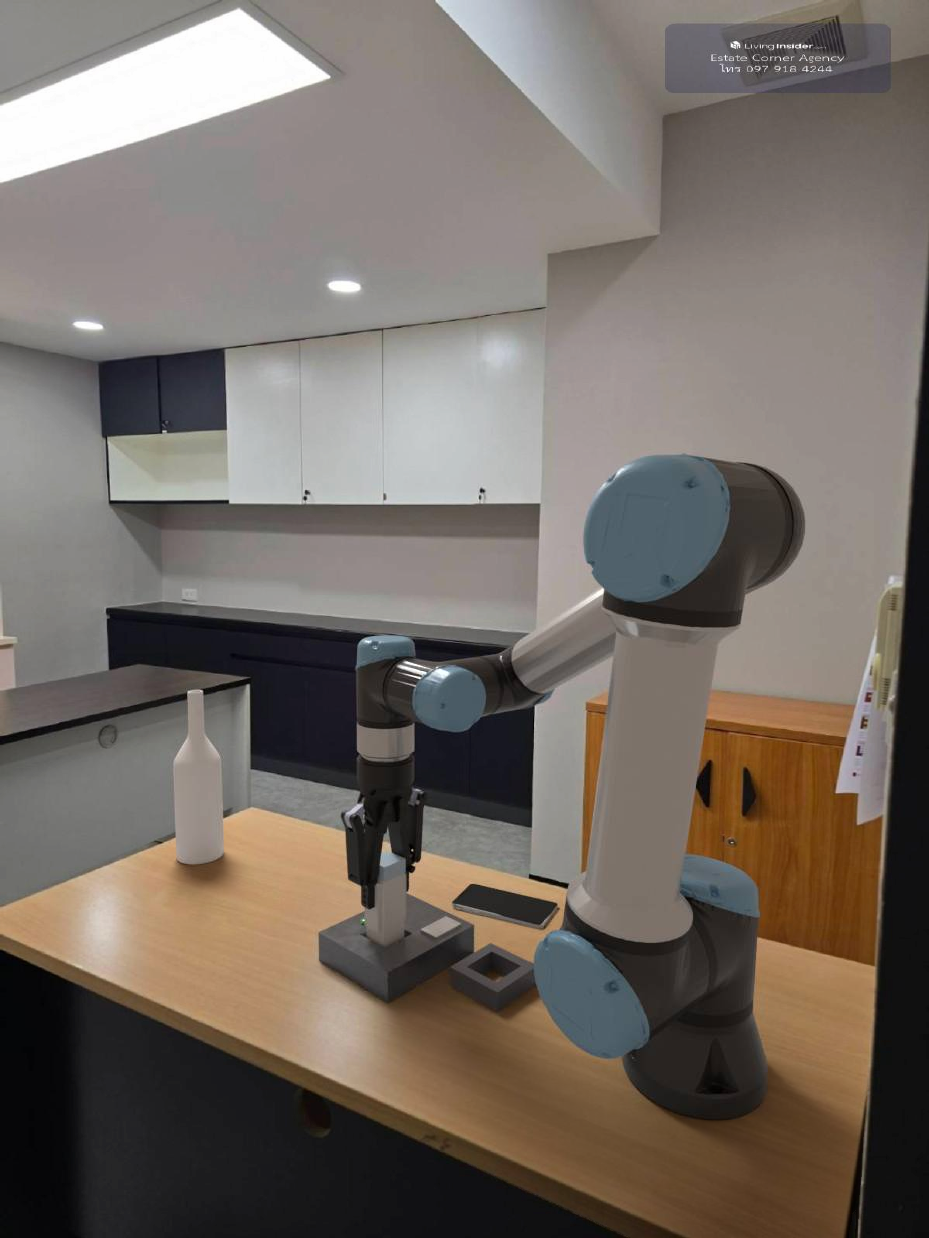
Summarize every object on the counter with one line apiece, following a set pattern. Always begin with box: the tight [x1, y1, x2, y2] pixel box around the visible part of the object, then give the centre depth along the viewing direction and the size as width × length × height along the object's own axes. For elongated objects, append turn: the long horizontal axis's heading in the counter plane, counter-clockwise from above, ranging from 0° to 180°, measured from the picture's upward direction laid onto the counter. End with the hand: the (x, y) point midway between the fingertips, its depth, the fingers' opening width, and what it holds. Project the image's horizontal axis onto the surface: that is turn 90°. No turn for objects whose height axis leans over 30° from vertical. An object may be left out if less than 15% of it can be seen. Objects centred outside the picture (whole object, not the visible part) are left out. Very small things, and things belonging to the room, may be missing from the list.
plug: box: [366, 850, 406, 948], centre depth 103 cm, size 4×4×12 cm
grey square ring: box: [449, 942, 537, 1012], centre depth 99 cm, size 8×8×2 cm
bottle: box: [172, 689, 225, 866], centre depth 136 cm, size 8×8×30 cm
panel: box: [318, 892, 475, 1004], centre depth 105 cm, size 14×16×4 cm
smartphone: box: [451, 883, 559, 930], centre depth 120 cm, size 8×1×15 cm
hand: (385, 921), depth 104 cm, fingers closed on plug, 4 cm apart
